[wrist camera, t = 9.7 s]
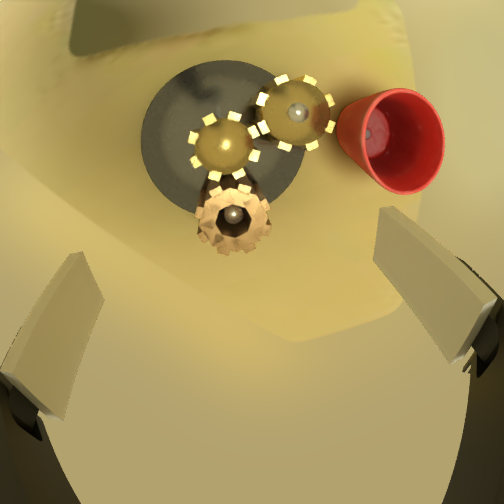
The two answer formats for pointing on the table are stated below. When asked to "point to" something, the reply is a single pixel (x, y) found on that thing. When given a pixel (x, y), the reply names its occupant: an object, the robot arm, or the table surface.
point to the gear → (214, 220)
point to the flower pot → (394, 139)
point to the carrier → (231, 130)
